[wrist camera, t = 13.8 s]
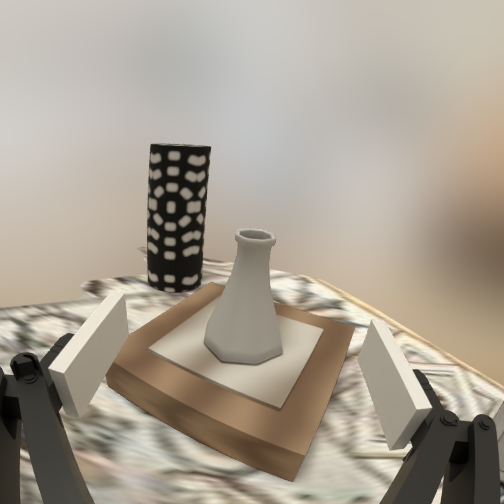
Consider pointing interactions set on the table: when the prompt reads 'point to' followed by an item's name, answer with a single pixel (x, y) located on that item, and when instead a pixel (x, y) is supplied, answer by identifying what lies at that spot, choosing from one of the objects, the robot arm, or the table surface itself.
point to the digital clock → (500, 438)
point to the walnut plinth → (234, 382)
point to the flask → (246, 305)
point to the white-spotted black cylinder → (176, 215)
